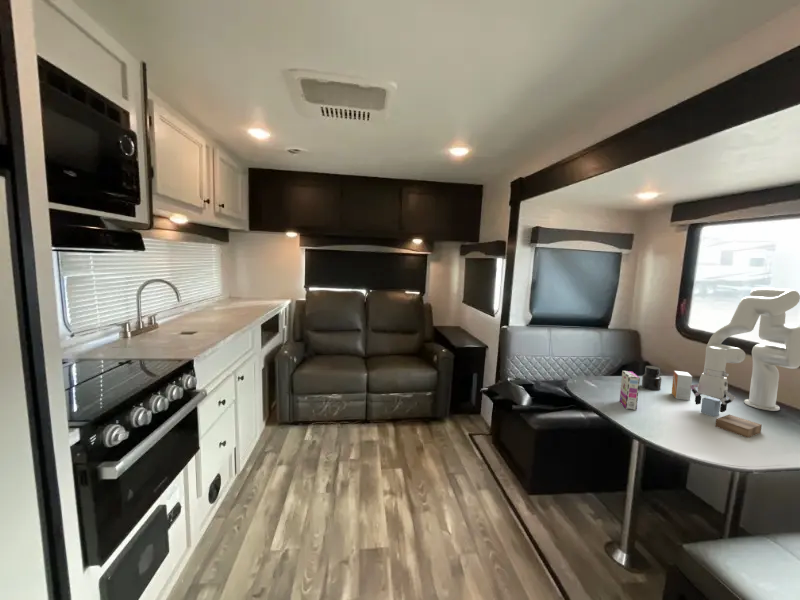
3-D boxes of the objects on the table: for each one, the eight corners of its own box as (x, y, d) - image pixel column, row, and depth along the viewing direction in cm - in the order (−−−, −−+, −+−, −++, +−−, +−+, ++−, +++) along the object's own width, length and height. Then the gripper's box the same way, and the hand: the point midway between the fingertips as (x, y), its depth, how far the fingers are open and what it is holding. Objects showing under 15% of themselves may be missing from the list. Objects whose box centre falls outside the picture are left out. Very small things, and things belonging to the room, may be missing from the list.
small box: (671, 393, 198) (673, 370, 196) (685, 395, 195) (687, 372, 194) (675, 398, 191) (677, 374, 189) (690, 400, 188) (692, 376, 187)
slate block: (706, 410, 175) (707, 396, 175) (719, 414, 171) (720, 400, 170) (700, 412, 173) (702, 398, 173) (713, 416, 169) (715, 402, 168)
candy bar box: (637, 410, 174) (640, 377, 172) (625, 409, 176) (628, 376, 174) (630, 402, 185) (632, 371, 183) (619, 401, 186) (621, 370, 184)
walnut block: (728, 422, 163) (729, 414, 163) (760, 433, 153) (761, 424, 153) (715, 427, 158) (716, 418, 158) (747, 438, 148) (748, 429, 148)
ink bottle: (665, 390, 203) (667, 369, 201) (652, 391, 201) (654, 370, 199) (649, 384, 212) (651, 364, 211) (637, 385, 210) (638, 365, 209)
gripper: (741, 377, 164) (736, 413, 166) (697, 367, 179) (693, 400, 181) (733, 379, 161) (728, 416, 162) (688, 368, 176) (684, 402, 178)
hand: (709, 407), depth 172 cm, fingers open, 9 cm apart
